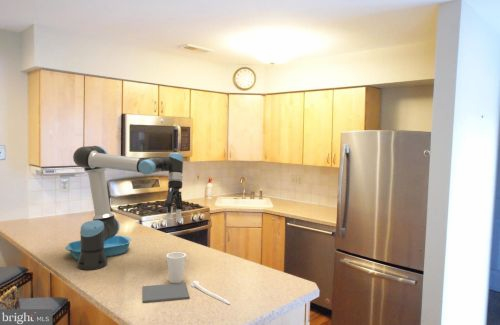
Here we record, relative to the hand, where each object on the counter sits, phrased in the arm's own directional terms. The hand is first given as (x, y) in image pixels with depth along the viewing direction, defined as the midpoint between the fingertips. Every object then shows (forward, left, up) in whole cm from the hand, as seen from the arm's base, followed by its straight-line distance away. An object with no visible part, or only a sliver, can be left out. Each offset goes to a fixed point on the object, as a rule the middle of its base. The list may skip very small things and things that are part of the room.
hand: (174, 220), depth 204 cm
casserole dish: (-41, +35, -27) cm, 60 cm away
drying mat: (-6, -30, -27) cm, 41 cm away
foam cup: (0, -16, -27) cm, 31 cm away
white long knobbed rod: (+14, -35, -27) cm, 47 cm away
